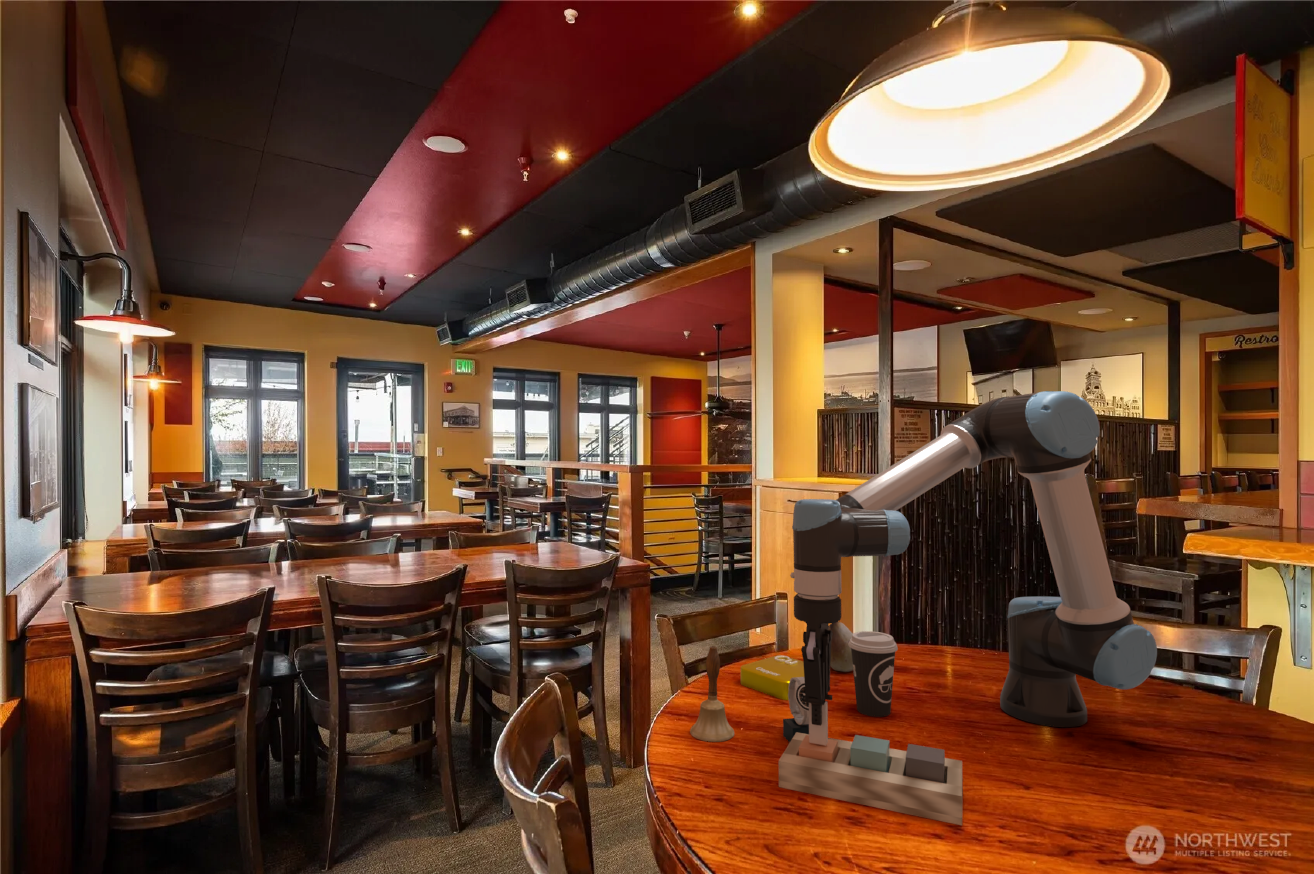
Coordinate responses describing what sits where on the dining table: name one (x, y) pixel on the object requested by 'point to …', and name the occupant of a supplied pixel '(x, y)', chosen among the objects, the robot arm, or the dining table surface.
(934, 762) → the charcoal button
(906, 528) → the robot arm
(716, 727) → the hand bell
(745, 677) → the element tile
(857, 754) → the teal button
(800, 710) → the watch
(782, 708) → the dining table surface
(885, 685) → the coffee cup
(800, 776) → the button panel
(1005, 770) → the dining table surface
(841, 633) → the fruit
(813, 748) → the terracotta button
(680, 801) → the dining table surface
